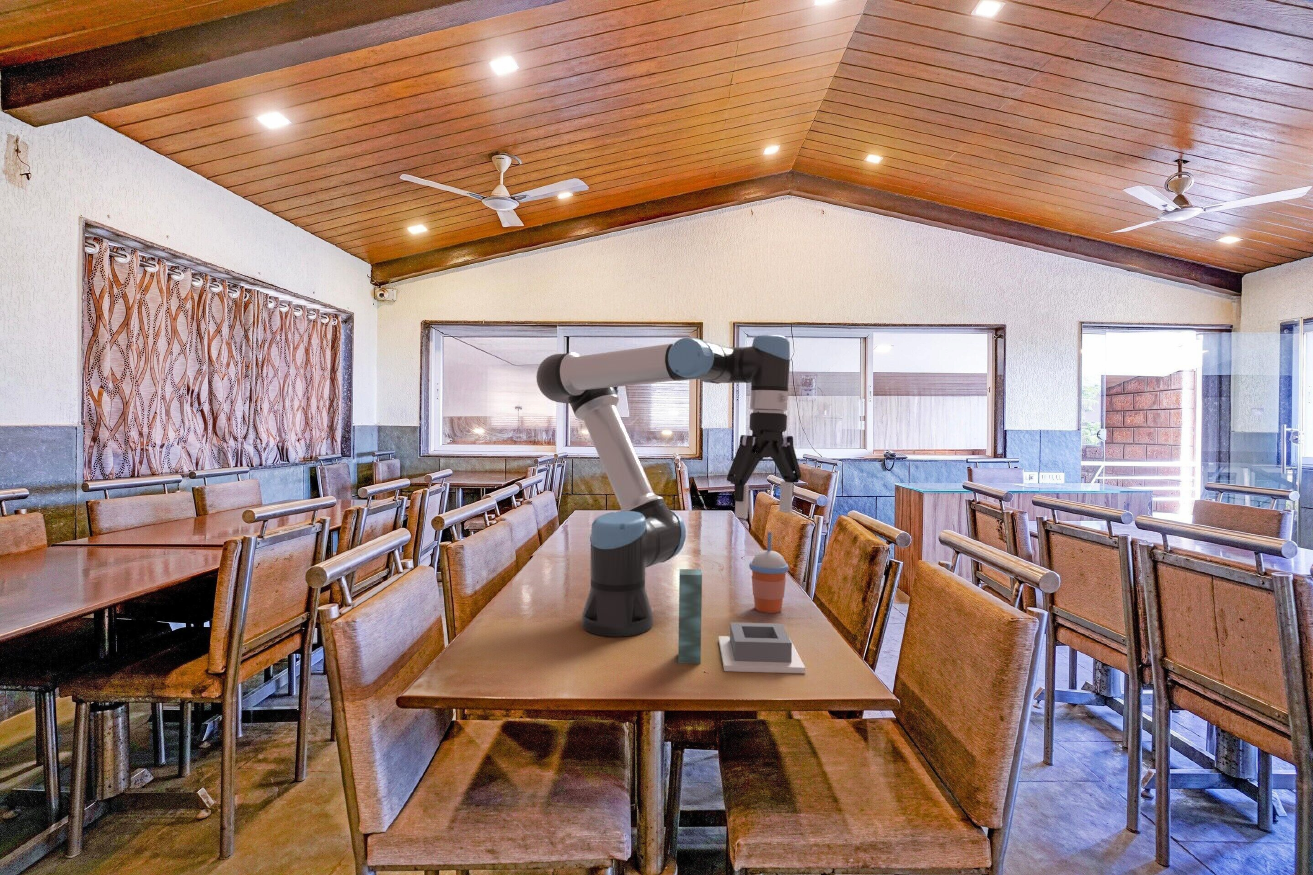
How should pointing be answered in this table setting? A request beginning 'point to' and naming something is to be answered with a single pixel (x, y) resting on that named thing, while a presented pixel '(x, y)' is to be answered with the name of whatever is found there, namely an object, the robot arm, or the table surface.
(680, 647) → the peg
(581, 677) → the table surface
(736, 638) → the socket block
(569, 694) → the table surface
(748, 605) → the table surface
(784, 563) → the cup with straw
